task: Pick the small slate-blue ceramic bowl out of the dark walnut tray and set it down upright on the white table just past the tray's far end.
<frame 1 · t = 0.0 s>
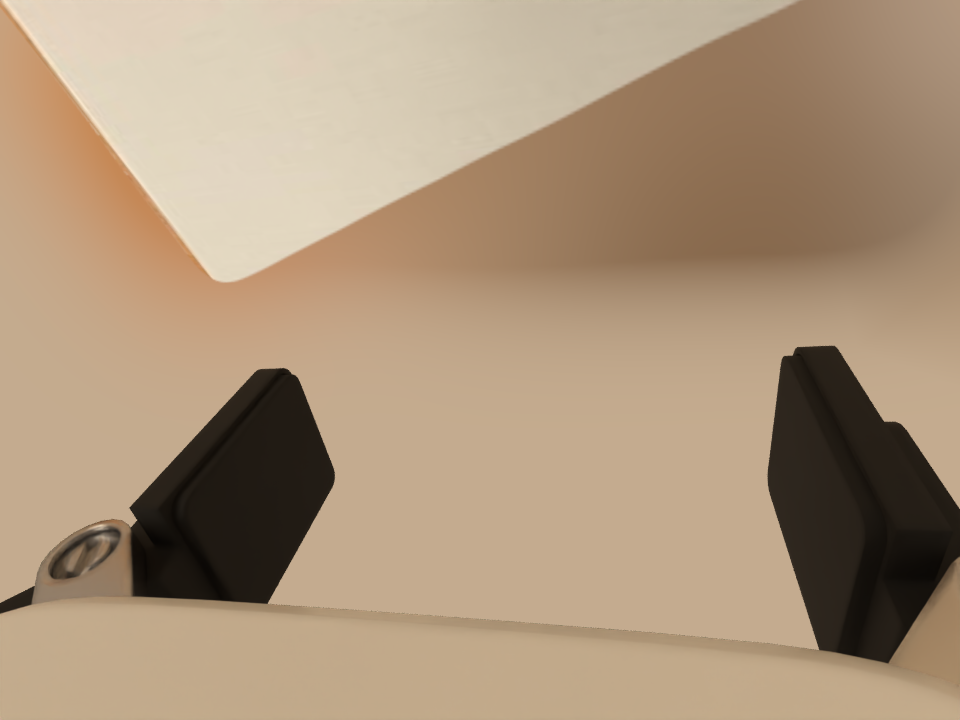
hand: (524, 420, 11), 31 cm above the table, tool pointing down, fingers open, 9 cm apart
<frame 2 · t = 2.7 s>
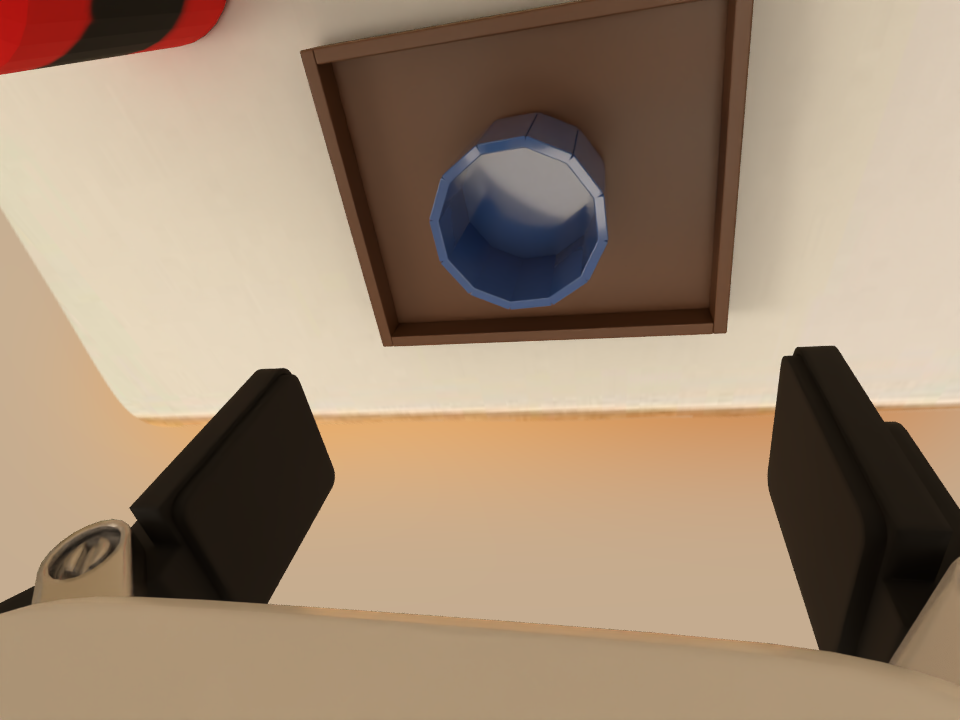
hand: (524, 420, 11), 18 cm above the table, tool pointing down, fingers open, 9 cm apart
bowl: (530, 191, 26), resting on tray
tray: (532, 188, 27), on the table
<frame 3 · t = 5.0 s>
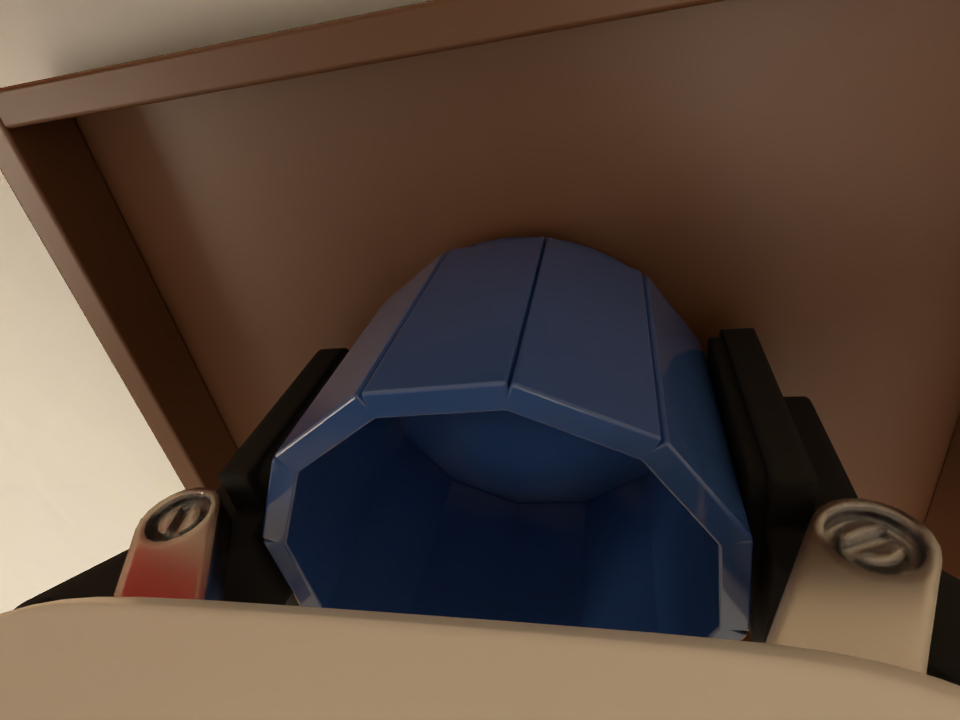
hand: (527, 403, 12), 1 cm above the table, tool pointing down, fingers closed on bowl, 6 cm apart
bowl: (531, 383, 12), point 1 cm above the table, touching gripper, tray
tray: (533, 370, 13), on the table
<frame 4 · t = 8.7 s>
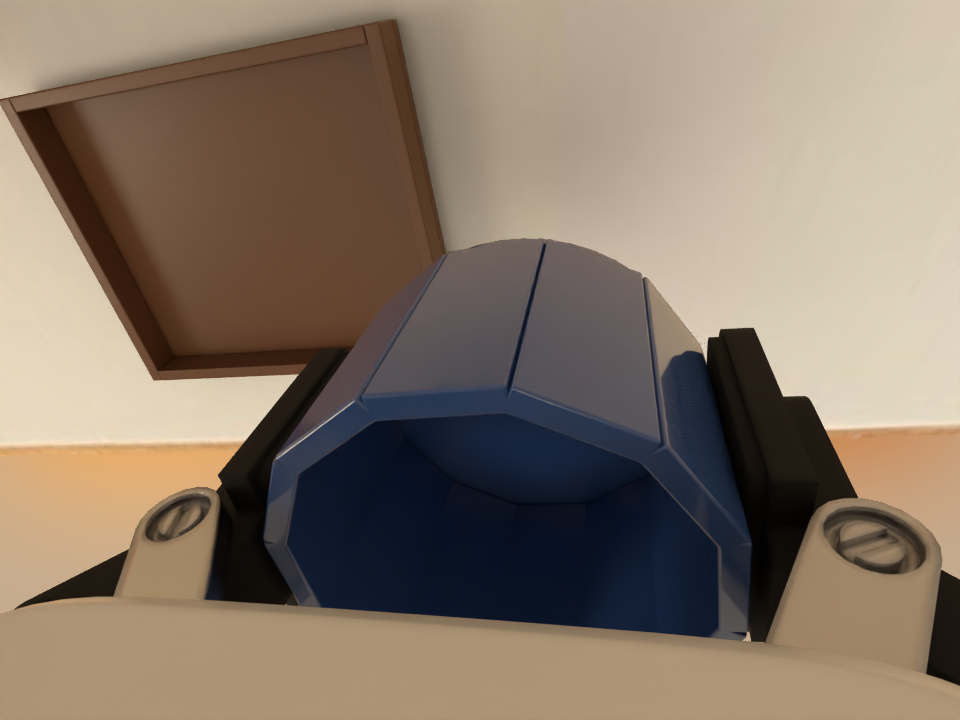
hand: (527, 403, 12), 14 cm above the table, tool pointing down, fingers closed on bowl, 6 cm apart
bowl: (531, 385, 12), point 14 cm above the table, touching gripper
tray: (263, 226, 27), on the table
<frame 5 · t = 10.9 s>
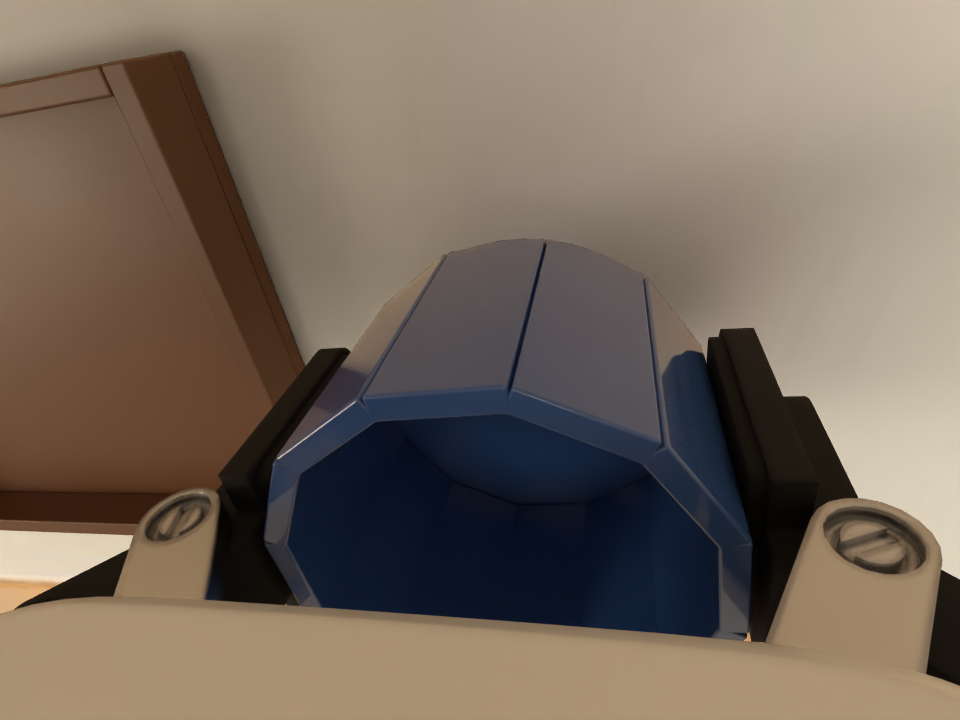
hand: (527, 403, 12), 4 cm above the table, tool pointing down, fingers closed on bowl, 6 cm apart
bowl: (531, 385, 12), point 3 cm above the table, touching gripper
tray: (54, 338, 19), on the table
when the fingers open (1 cm above the table, at t = 12.4 s): bowl stays where it is, on the table.
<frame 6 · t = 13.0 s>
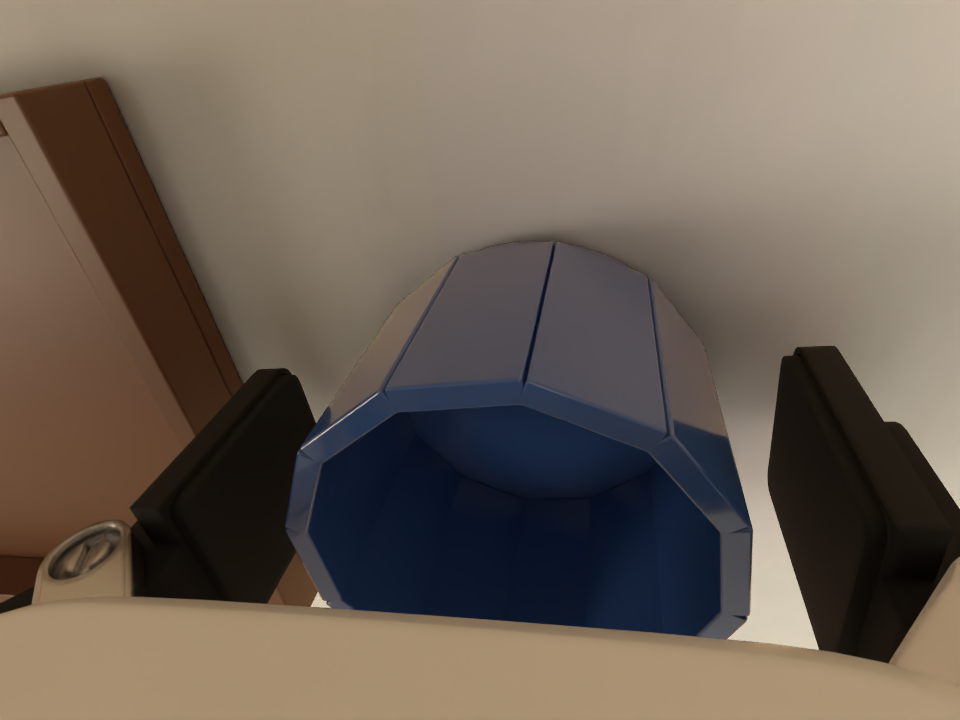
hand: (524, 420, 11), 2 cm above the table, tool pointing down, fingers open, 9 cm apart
bowl: (538, 382, 13), on the table
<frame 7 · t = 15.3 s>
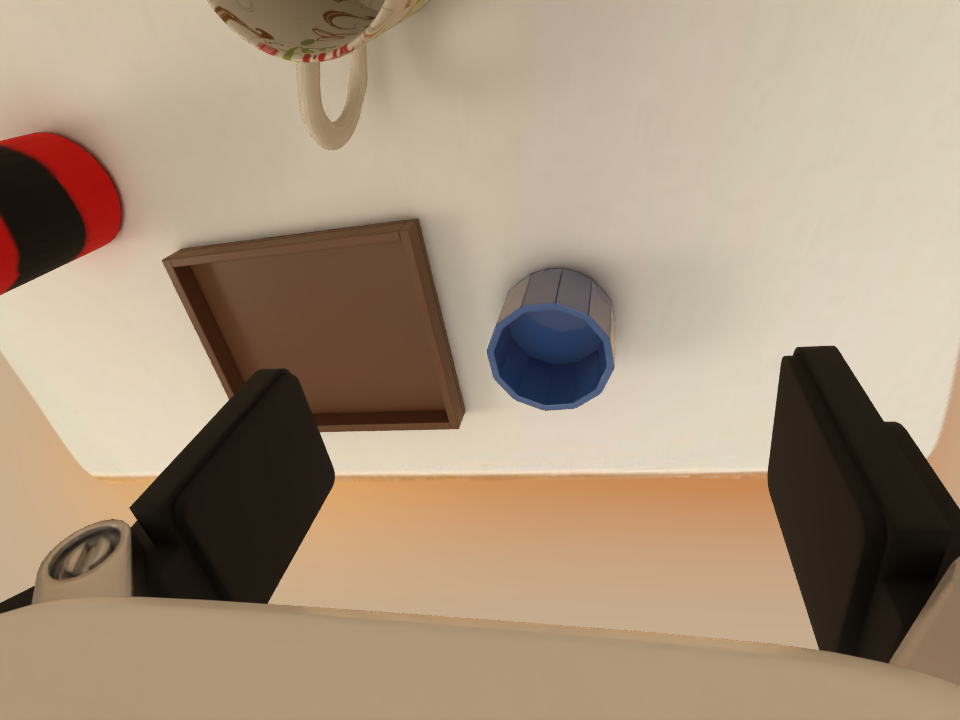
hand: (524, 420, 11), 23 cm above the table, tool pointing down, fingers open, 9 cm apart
bowl: (557, 318, 36), on the table
tray: (327, 332, 40), on the table
soda can: (74, 190, 38), on the table
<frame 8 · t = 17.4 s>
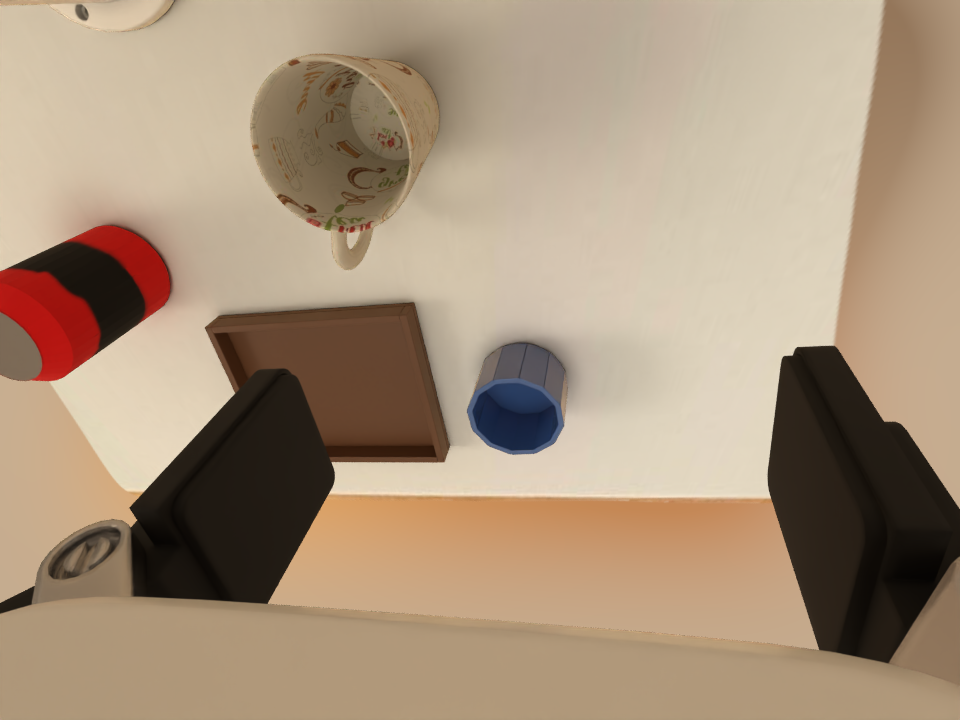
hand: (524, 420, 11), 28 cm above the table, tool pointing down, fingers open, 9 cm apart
bowl: (523, 379, 45), on the table
tray: (337, 383, 49), on the table
mug: (392, 147, 38), on the table
soda can: (131, 267, 47), on the table
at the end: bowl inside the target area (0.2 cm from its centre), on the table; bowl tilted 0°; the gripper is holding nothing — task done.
